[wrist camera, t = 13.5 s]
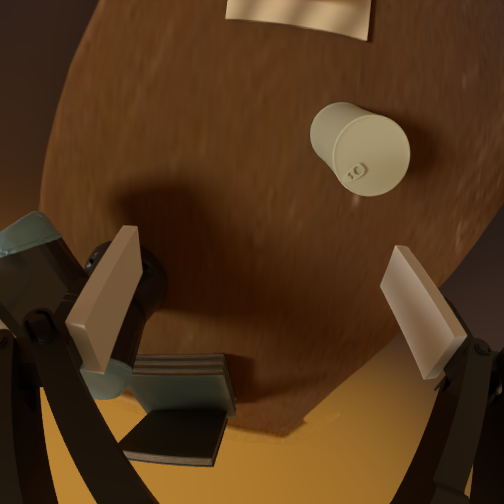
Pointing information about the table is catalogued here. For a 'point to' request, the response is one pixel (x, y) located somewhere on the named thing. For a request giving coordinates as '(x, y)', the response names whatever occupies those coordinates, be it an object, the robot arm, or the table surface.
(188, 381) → the dark boxy piece
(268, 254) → the table surface
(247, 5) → the flat beige board
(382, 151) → the can
